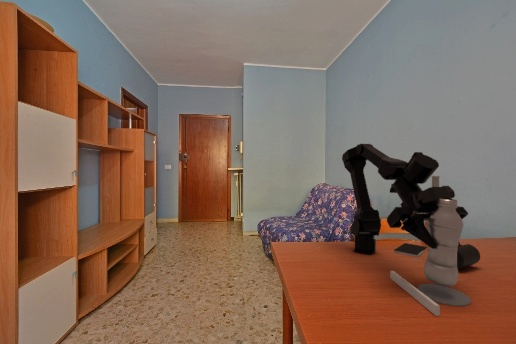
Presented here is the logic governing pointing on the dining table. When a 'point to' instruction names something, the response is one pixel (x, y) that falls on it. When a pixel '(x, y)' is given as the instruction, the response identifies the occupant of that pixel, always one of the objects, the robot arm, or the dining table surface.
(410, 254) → the smartphone
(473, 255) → the end cap
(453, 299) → the slate mat
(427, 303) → the frosted wall
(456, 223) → the plastic bottle
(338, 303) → the dining table surface
